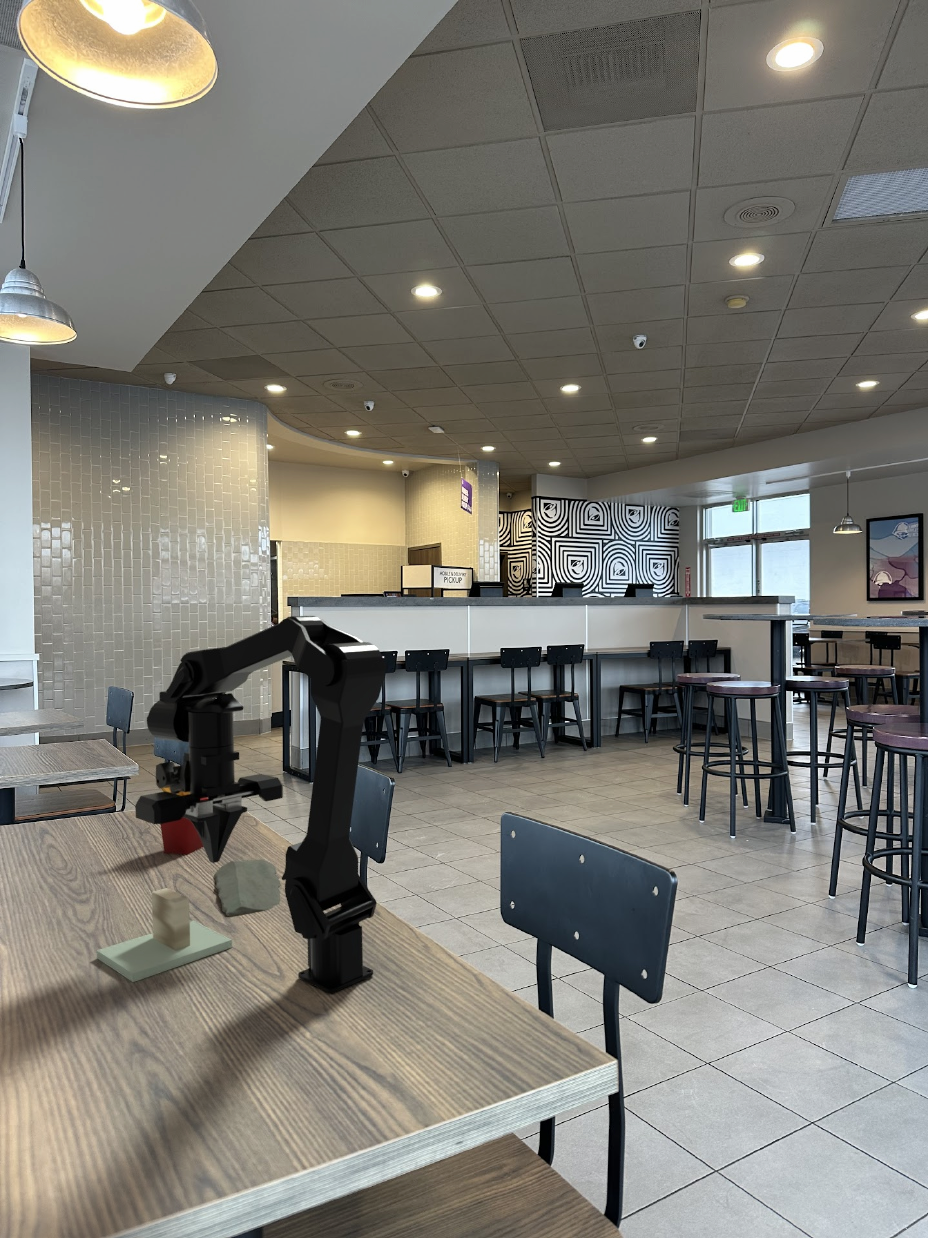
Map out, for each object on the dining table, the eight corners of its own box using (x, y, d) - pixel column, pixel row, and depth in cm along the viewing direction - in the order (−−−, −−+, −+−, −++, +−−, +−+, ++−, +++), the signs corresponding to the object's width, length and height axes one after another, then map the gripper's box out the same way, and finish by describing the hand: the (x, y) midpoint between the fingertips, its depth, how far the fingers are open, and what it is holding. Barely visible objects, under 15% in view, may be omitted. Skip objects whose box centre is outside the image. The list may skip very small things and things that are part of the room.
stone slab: (272, 874, 139) (212, 873, 136) (274, 858, 139) (214, 856, 136) (289, 921, 118) (218, 922, 115) (291, 902, 118) (220, 902, 115)
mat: (232, 947, 104) (231, 939, 104) (132, 982, 95) (132, 974, 95) (193, 927, 111) (193, 920, 111) (97, 958, 102) (97, 950, 102)
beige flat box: (190, 945, 103) (189, 898, 103) (175, 950, 101) (174, 902, 101) (167, 933, 107) (166, 887, 107) (152, 938, 105) (151, 892, 105)
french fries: (156, 854, 146) (154, 771, 146) (184, 841, 154) (183, 762, 154) (198, 857, 143) (196, 773, 143) (225, 844, 151) (223, 764, 151)
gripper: (240, 731, 120) (243, 836, 120) (115, 748, 107) (117, 867, 107) (284, 738, 113) (286, 850, 113) (154, 757, 99) (157, 885, 99)
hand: (214, 862), depth 108 cm, fingers closed
